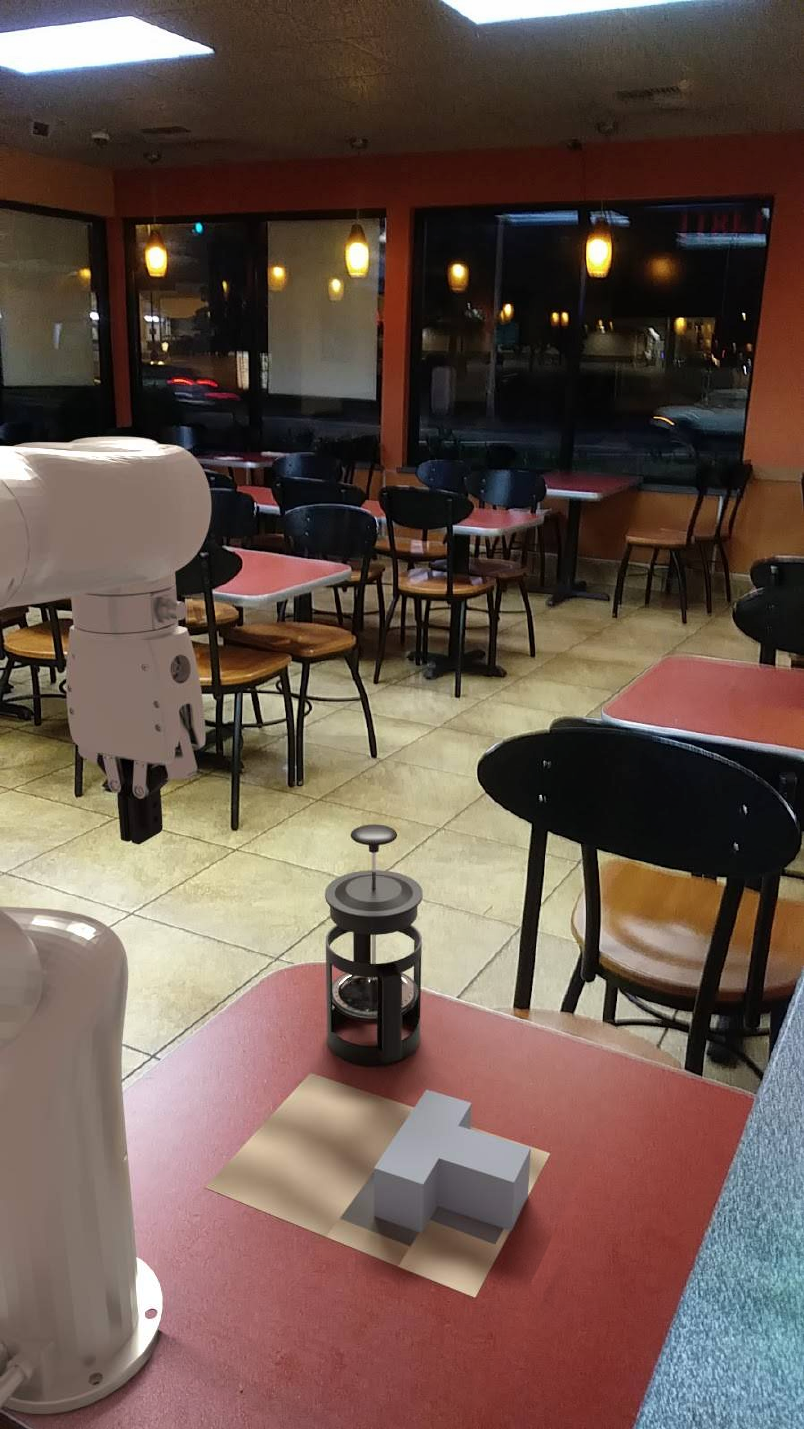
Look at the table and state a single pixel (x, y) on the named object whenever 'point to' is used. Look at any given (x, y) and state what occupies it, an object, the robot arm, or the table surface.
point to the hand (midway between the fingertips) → (142, 835)
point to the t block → (449, 1169)
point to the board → (355, 1183)
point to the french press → (374, 957)
